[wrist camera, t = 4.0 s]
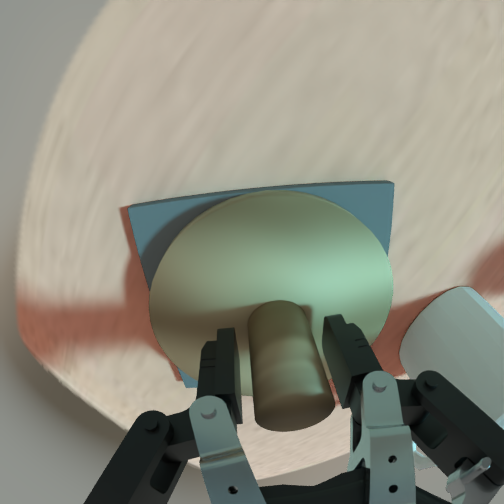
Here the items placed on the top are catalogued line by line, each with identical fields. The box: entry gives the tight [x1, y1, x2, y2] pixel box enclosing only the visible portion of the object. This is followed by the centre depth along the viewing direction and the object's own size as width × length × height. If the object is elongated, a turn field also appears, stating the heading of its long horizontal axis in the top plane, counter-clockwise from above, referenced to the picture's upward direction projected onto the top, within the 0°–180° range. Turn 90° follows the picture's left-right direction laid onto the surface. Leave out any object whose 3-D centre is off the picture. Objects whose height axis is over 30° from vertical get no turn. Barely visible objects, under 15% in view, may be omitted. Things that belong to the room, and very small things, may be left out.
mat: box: [128, 181, 394, 388], centre depth 14 cm, size 12×12×1 cm
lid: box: [149, 190, 393, 432], centre depth 11 cm, size 12×12×6 cm
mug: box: [399, 286, 504, 470], centre depth 13 cm, size 8×12×10 cm
